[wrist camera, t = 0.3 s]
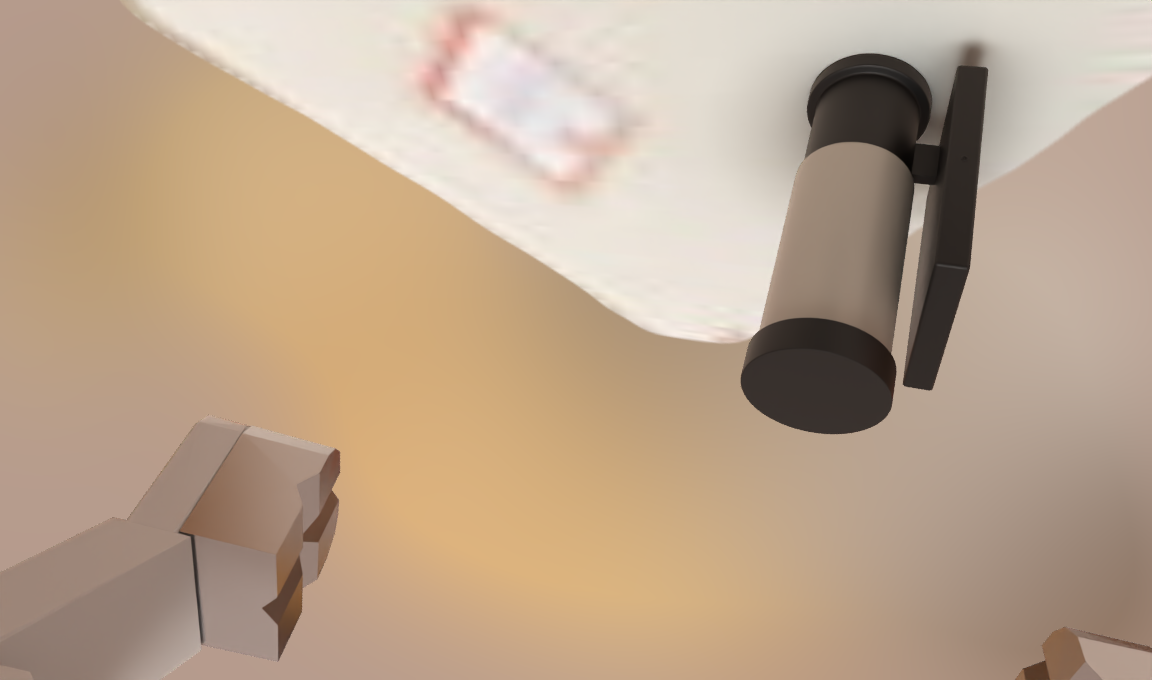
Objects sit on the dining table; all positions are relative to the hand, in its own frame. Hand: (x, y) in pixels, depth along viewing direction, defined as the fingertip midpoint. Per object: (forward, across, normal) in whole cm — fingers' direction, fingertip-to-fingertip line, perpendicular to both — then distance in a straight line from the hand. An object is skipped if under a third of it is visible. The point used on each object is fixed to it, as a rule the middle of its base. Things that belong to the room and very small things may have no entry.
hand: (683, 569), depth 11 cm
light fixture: (+60, -14, +16) cm, 63 cm away
